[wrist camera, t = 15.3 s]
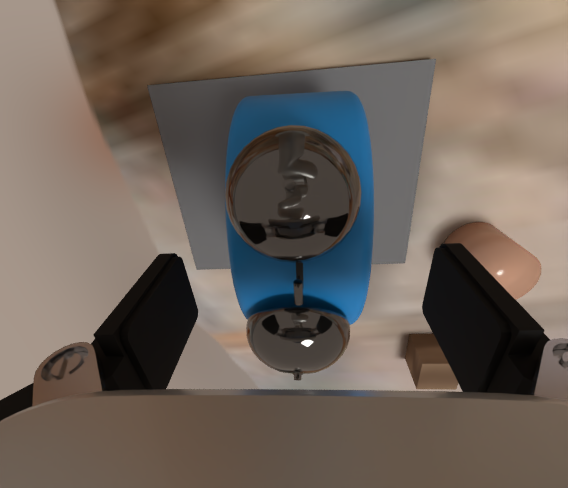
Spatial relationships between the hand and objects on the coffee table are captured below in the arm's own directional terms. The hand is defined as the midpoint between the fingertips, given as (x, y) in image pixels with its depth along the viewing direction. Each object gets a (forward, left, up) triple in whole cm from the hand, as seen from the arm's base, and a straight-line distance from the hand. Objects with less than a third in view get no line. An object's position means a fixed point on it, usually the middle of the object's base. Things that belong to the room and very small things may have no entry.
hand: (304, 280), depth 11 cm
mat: (+1, -1, -15) cm, 15 cm away
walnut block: (+21, +13, -15) cm, 29 cm away
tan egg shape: (+8, +15, -15) cm, 22 cm away
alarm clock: (0, 0, -14) cm, 14 cm away
